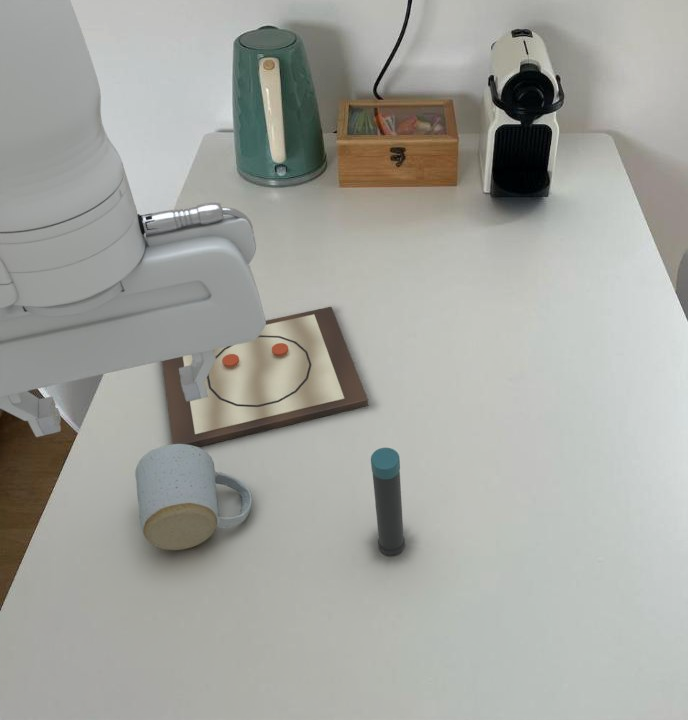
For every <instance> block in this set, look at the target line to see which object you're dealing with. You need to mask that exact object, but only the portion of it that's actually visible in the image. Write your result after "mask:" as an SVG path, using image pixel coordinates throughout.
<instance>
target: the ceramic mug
mask: <svg viewBox="0 0 688 720" xmlns="http://www.w3.org/2000/svg"><path fill="white" fill-rule="evenodd" d="M134 471H135V482H136V483H135V484H136V493H137V495H136V496H137V503H138V515H139V516H138V517H139V523H140V527H141V529H142V530H141V531H142V534H143V536H144V538H145V539H146V541H147V542H148V543H149V544H151V545H152V546H154V547H156V548H159V549H161V550H168V551H180V550H186V549H187V550H188V549H190V548H193V547H194V548H195V547H196V546H198V545H200V544H202V543H204V542H205V541H207V540H208V539H209V538H210V537H211V536H212V535H213V534H214V533H215V531H216V528H220V529H227V528H228V529H229V528H232V527H236V526H239V525H241V524H242V523H244V521H246V519H247V518H248V516H249V513H250V510H251V508H252V507H253V506H252V505H253V496H252V493H251V490H250V487H249V486H248V485H247V484H246V483H245V482H243V480H241V479H239V478H237V477H236V476H233V475H230V474H228V473H224V472H219V471H216V470H215V462H214V461H213V458H212V456H211V455H210V453H208V452H207V451H206V450H204V449H203V448H201V447H196V446H192V445H186V444H173V443H172V444H166V445H162V446H159V447H155V448H154V449H152V450H150V451H149V452H147V453H145V454H144V455H143V456H142V457H141V458H140V460H139V461H138V462H137V465H136V467H135V470H134ZM216 484H218V485H221V486H226V487H228V488H230V489H232V490H234V491H235V492H238V493H239V495H240V497H241V504H242V507H241V509H240V514H236V515H232V516H219V506H218V497H217V485H216Z"/></svg>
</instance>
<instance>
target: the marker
mask: <svg viewBox="0 0 688 720" xmlns="http://www.w3.org/2000/svg"><path fill="white" fill-rule="evenodd" d="M370 466H371V467H370V468H371V472H372V480H373V490H374V491H373V492H374V503H375V504H374V505H375V513H376V525H377V535H378V539H377V544H378V550H379V551H380V553H382V554H383V555H385V556H388V557H394V556H398V555H399V554H401V553H402V552H403V551H404V549H405V546H406V539H405V536H404V522H403V520H404V519H403V505H402V504H403V503H402V487H401V471H400V470H401V461H400V454H399V453H398V451H397V450H395V449H394V448H391V447H381V448H378V449H376V450H375V451H374V452H373V453H372V454H371V456H370Z"/></svg>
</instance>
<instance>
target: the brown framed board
mask: <svg viewBox="0 0 688 720" xmlns="http://www.w3.org/2000/svg"><path fill="white" fill-rule="evenodd" d="M278 343H284V344H286V345H287V346H288V352H287V353H286V354H284V355H281V356H277V355H274V354H273V353H272V347H273V346H274V345H275V344H278ZM214 352H215V357H216V360H215V362H214V364H213V366H212V368H211V370H210V372H209V374H208V376H207V378H206V380H205V381H206V386H207V391H208V397H206V398H202V399H197V400H193V401H188V402H186V399H185V395H184V393H183V390H182V386H181V381H180V379H181V378H180V374H179V368H181V367H185V366H189V365H191V362H192V360H193V358H192V355H187V356H182V357H178V358H173V359H169V360H164V361H161V363H162V370H163V379H164V386H165V392H166V401H167V409H168V417H169V418H168V419H169V425H170V432H171V433H170V434H171V439H172V444H186V445H192V446H196V447H199V448H201V447H204V446H207V445H213V444H216V443H221V442H225V441H228V440H232V439H237V438H241V437H245V436H249V435H254V434H258V433H262V432H266V431H270V430H274V429H278V428H282V427H286V426H290V425H294V424H298V423H302V422H307V421H310V420H314V419H318V418H319V419H320V418H323V417H327V416H331V415H336V414H340V413H343V412H348V411H352V410H355V409H360V408H364V407H369V399H368V397H367V394H366V391H365V389H364V387H363V384H362V381H361V378H360V376H359V373H358V371H357V369H356V366H355V363H354V360H353V358H352V355H351V353H350V350H349V348H348V346H347V342H346V339H345V338H344V335H343V333H342V330H341V327H340V325H339V321H338V320H337V318H336V314H335V312H334V310H333V307H332V306H326V307H323V308H318V309H314V310H309V311H305V312H300V313H295V314H290V315H285V316H280V317H277V318H271V319H267V320H266V326H265V327H264V329H263V331H262V332H261V334H260V335H259V337H258V338H257V339H256V340H253V341H250V342H246V343H241V344H237V345H232V346H228V347H223V348H218V349H214ZM229 354H235V355H237V356H238V357H239V362H238V364H237V365H235V366H232V367H226V366H224V365H223V363H222V359H223V358H224V357H225V356H226V355H229Z"/></svg>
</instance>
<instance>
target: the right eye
mask: <svg viewBox="0 0 688 720" xmlns="http://www.w3.org/2000/svg"><path fill="white" fill-rule="evenodd" d="M287 352H288V346H287V345H286V344H284V343H278V344H275V345H274V346H273V347H272V353H273V354H274V355H277V356H281V355H284V354H286V353H287Z"/></svg>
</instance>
